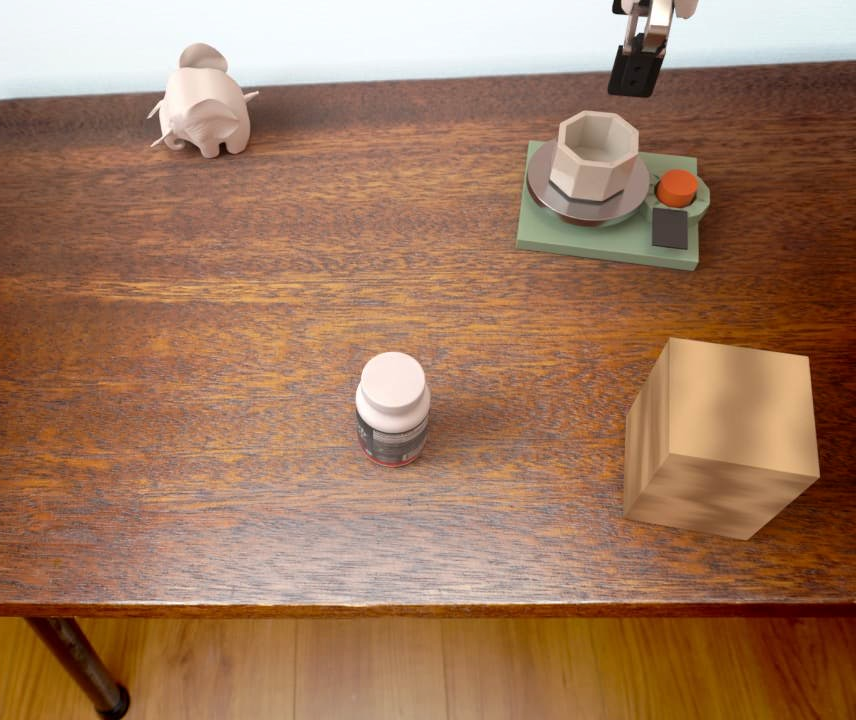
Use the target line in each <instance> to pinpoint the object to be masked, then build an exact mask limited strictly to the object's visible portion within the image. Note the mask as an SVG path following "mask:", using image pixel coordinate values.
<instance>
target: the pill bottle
mask: <svg viewBox="0 0 856 720" xmlns="http://www.w3.org/2000/svg"><path fill="white" fill-rule="evenodd" d="M426 379H427V378H426V374H425V371H424V369H423V366H422V365H421V364H420V362H418V361H417V360H416V359H415V358H414V357H412V356H411V355H409V354H406V353H405V352H400V351H386V352H382V353H379V354H377V355H375V356H373V357H372V358H371V359H369V360H368V361H367V362H366V364H365V365H364V367H363V370H362V372H361V376H360V382H359V383H358V386H357V388H356V391H355V398H354V399H355V419H356V420H355V421H356V437H357V443H358V445H359V447H360V449H361V451H362V453H363V454H364V455H365V456H366V457H367V458H368V459H369V460H370V461H372V462H373V463H375V464H378V465H380V466H383V467H389V468H397V467H403V466H405V465H408V464H410V463H411V462H413V461H414V460H416V459H417V458H418V457H419V456H420V455H421V454H422V452H423V450H424V448H425V446H426V443H427V439H428V438H427V437H428V429H429V419H430V411H431V399H432V398H431V391H430V388H429V385H428V383H427V382H426V381H427V380H426Z"/></svg>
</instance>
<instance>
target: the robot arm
mask: <svg viewBox="0 0 856 720" xmlns="http://www.w3.org/2000/svg"><path fill="white" fill-rule="evenodd" d="M698 4H699V0H613V1H612V6H611V13H612V14H614V15H618V16H619V15H620V16H628V19H627V25H626V29H625V35H624V41H623V44H619V45H618V47H617V51H616V54H615V57H614V62H613V64H612V68H611V73H610V76H609V80H608V84H607V88H606V89H607V91H606V92H607V94H608V95H610V96H617V97H629V98H641V99H649V98H651V96H652V95H653V93H654V90H655V87H656V84H657V82H658V78H659V75H660V71H661V70H662V67H663V63H664V60H665V57H666V54H667V48H668V47H667V46H668V42H669V38H670V32H671V28H672V27H671V26H672V23H673V17H674V14H675V17H676V18H677V19H683V20H688V19H690V18H691V17H692V16H693V15H694V14H695V13H696V10H697V7H698ZM639 18H647V19H646V23H645V26H644V29H643V32H638V33H637V34H636V32H637V28H638V21H639Z"/></svg>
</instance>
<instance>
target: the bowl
mask: <svg viewBox="0 0 856 720" xmlns="http://www.w3.org/2000/svg"><path fill="white" fill-rule="evenodd" d="M556 137H557V138H556ZM556 137H555V138H556V142H555V146H554V150H553V154H552V159H551V169H550V180H551V181H552V182H553V183H555V184H556V185H557V186H558V187H559V188H560V189H561V190H562V191H564V192H565V193H566V194H567V195H568V196H569V197H571V198H579V199H587V200H596V201H603V200H605V199H607V198H609V197H610V196H612V195H614V194H615V193H617V192H619V191H621V190H622V189H624V188H625V187H626V186H627V183H628V180H629V177H630V175H631V172H632V169H633V167H634V164H635V161H636V158H637V156H638V152H639V141H640V140H639V137H640V133H639V130H638V129H637V128H635V127H634V126H633V125H631V123H629V122H628V121H626V119H624V118H622V116H620V115H619V114H618V113H615V112H605V111H596V110H595V111H593V110H582V111H580V112H579V113H576V114H575V115H573V116H571V117H570V118H568V119H566V120H564V121H561V122H560V123H559V126H558V131H557V133H556Z"/></svg>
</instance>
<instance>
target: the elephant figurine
mask: <svg viewBox="0 0 856 720" xmlns="http://www.w3.org/2000/svg"><path fill="white" fill-rule="evenodd" d="M228 68H229V65H228V61H227V59H226V57H225V56H224V55H223V54H222V53H221V52H220V51H219V50H217V49H216V48H215V47H213V46H212V45H210V44H207V43H204V42H194V43H192V44H190V45H187V47H186V48H184V49H183V51H182V52H181V53H180V55H179V57H178V61H177V67H176V69H175V70H173V72H172V73H171V74H170V75H169V76H168V78H167V82H166V85H165V93H164V97H163V99H161V100H159V102H158V103H157V104H156V105H155V107H154V108H153V109H152V110H151V111H150V112H149V114H148V116H147V117H146V120H148V119H151V118H152V117H153V116H154V115H155V113H157V112H158V110H159V112H158V116H159V118H158V119H159V124H160V129H161V130H160V131H161V135H162V136H161V137H160V138H158V139H157V140H155V141H154V142H153V143H152V144H151V145H150V148H153V147H155V146H158V145H160V144H162V142H163V141H164V143H165V144H166V145H167V147H168V148H170V150H174V151H179V150H182V149H183V148H185V146H186V142H185V141H187V142H190V143H191V144H193V145H195V147H198V148H199V150H200V152H201V155H202V157H204V158H206V159H212V158H216V157H217V156H219V154H220V144H222V143H225V147H226V150H227V152H228V153H230V154H232V155H237V154H239V153H241V152H243V151H244V150H245V149H246V147H247V144H248V142H249V139H250V134H251V122H250V121H251V120H250V117H249V111H248V107H247V103H248V102H249V101H251V100H252V99H253V98H255V97H256V96H257V95H259V94H260V92H259V90H256V91H254V92H250V93H249V92H248V93H245V94H244V92H243V90H242V88H241V87H240V85H239V83H238V82H237V81H236V80H235V79H234V78H232V77H231V76H230V75H228V73H227V72H228Z"/></svg>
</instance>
